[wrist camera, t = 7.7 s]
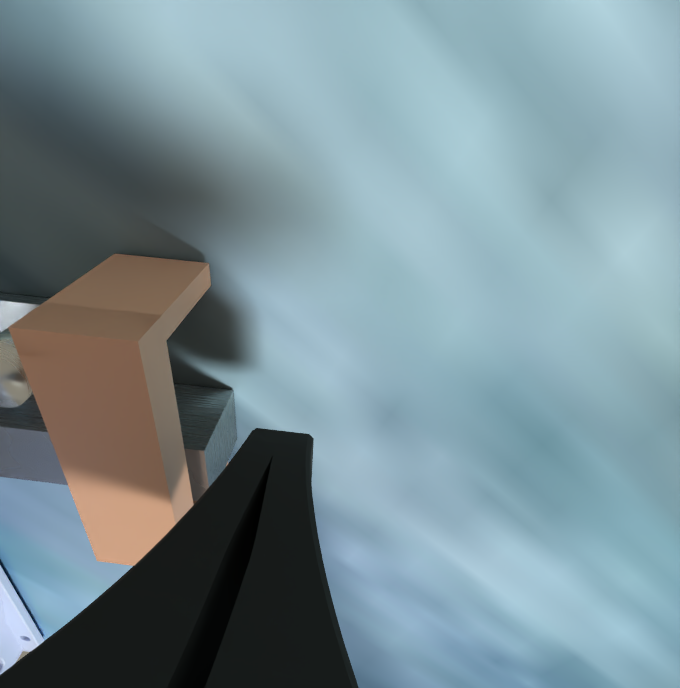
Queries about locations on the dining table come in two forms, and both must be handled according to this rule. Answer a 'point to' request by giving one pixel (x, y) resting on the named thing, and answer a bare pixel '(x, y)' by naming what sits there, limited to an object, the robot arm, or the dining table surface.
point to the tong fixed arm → (34, 441)
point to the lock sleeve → (115, 396)
